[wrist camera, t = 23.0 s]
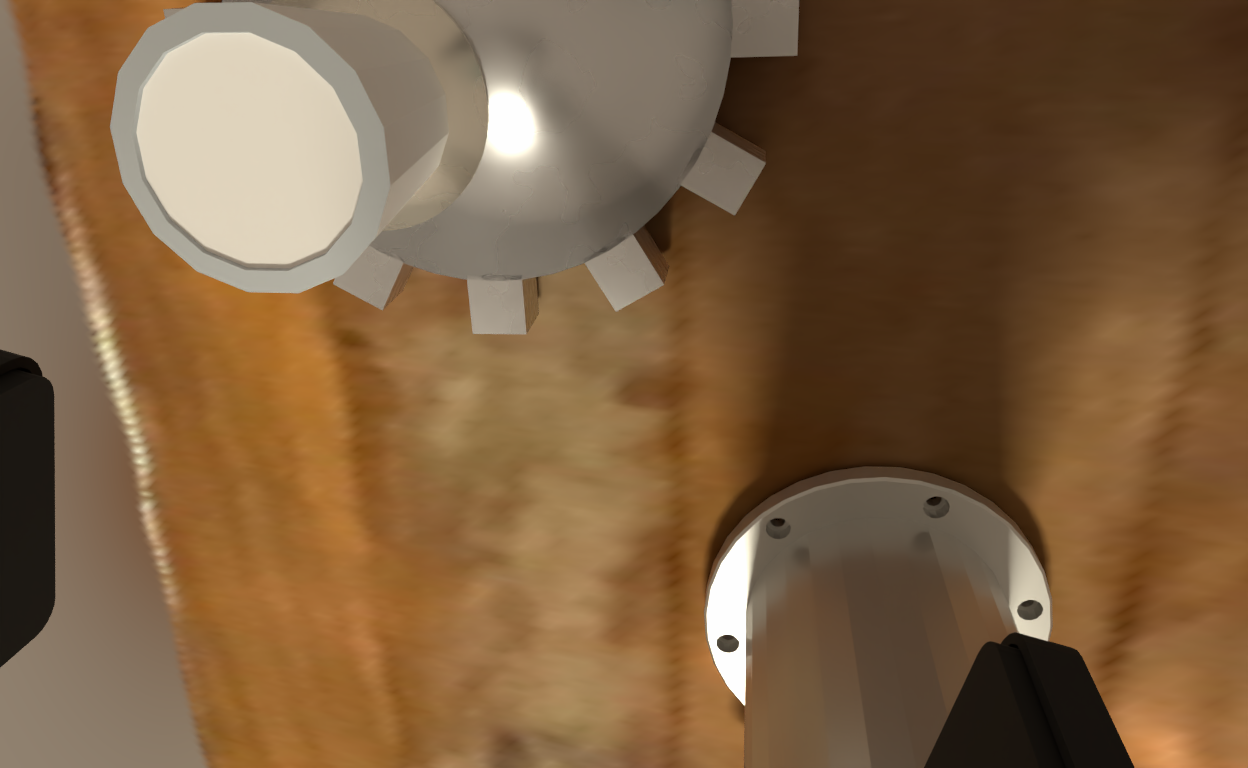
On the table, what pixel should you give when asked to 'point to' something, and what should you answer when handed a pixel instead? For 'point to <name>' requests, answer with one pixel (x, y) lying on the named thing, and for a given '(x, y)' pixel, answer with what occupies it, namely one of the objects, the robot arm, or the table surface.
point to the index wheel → (564, 140)
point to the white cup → (274, 138)
